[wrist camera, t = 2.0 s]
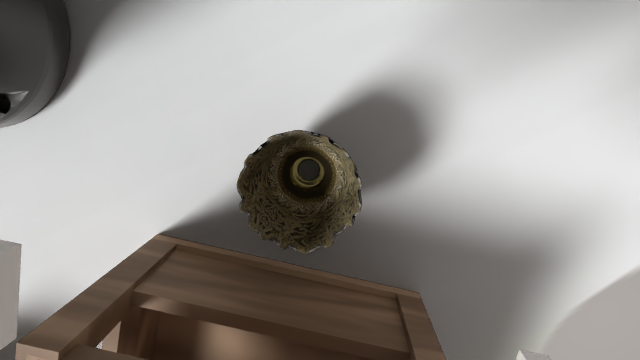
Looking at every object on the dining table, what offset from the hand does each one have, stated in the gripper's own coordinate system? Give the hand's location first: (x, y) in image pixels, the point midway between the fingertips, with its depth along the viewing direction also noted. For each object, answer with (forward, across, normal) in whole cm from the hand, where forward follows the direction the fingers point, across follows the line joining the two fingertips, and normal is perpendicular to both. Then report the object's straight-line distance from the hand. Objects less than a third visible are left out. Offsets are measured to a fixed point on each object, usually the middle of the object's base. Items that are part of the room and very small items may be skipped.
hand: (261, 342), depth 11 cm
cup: (+22, 0, 0) cm, 22 cm away
